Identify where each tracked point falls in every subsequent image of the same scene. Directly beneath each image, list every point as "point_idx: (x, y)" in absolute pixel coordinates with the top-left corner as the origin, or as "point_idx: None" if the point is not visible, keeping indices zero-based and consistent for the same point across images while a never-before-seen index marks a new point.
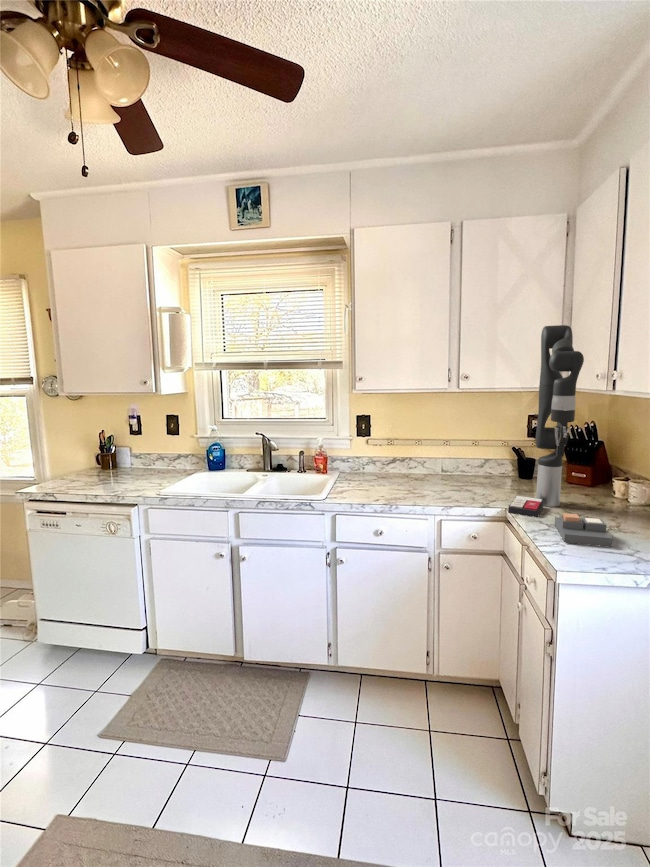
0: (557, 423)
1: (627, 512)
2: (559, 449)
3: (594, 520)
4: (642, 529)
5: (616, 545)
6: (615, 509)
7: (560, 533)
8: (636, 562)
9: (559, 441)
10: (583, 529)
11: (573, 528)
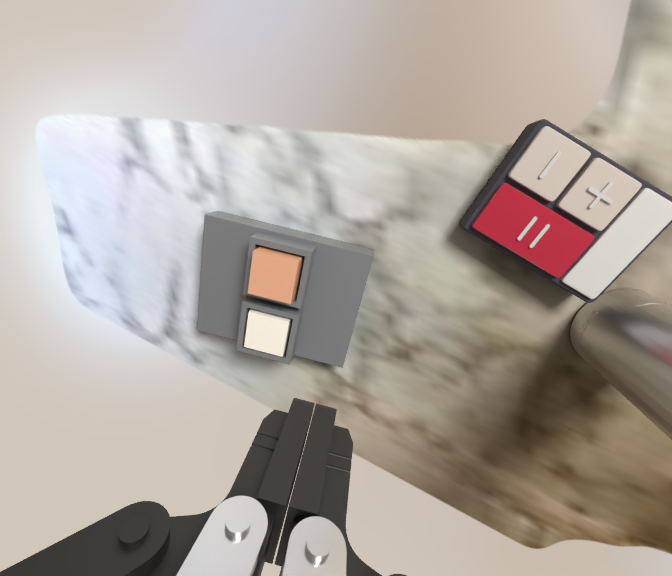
0: None
1: (479, 491)
2: (244, 464)
3: (265, 336)
4: None
5: None
6: (510, 480)
7: (273, 226)
8: (127, 320)
9: (35, 571)
10: None
11: None
